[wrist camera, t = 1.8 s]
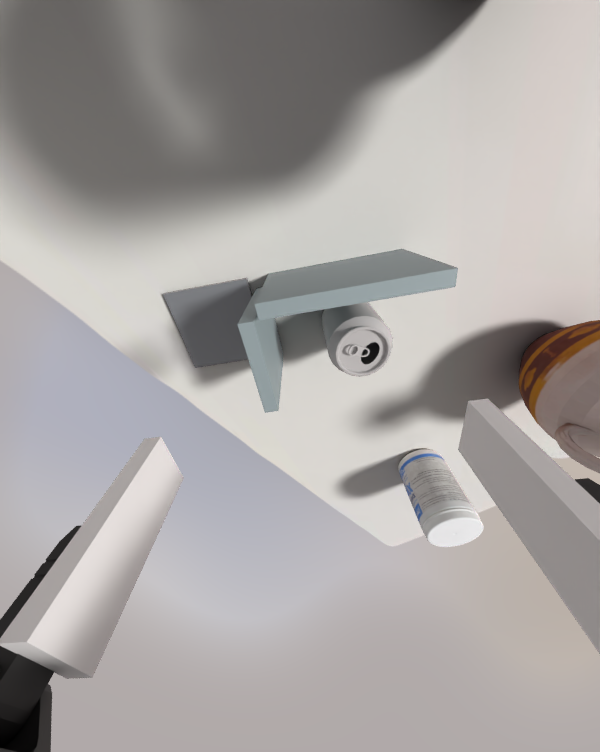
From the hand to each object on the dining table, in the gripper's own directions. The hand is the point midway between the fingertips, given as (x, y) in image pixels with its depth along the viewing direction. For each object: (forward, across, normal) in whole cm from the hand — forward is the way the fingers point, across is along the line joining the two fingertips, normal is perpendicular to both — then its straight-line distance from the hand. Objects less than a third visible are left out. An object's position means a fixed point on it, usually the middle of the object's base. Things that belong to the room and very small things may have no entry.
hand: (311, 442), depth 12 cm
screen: (+30, +4, -3) cm, 30 cm away
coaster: (+30, -13, -3) cm, 33 cm away
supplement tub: (+31, +19, -39) cm, 54 cm away
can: (+30, +6, -5) cm, 31 cm away
